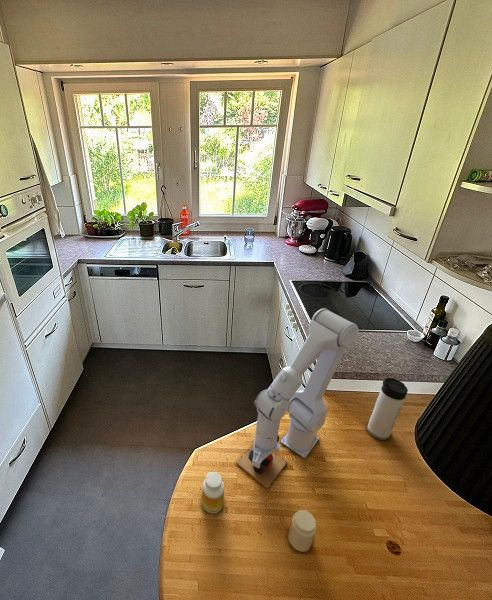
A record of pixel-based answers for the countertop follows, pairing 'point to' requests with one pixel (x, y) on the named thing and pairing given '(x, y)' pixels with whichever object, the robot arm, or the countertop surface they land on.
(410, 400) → the countertop surface
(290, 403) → the robot arm
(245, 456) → the trivet
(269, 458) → the lid
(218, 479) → the supplement bottle
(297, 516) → the jar
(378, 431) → the travel mug
